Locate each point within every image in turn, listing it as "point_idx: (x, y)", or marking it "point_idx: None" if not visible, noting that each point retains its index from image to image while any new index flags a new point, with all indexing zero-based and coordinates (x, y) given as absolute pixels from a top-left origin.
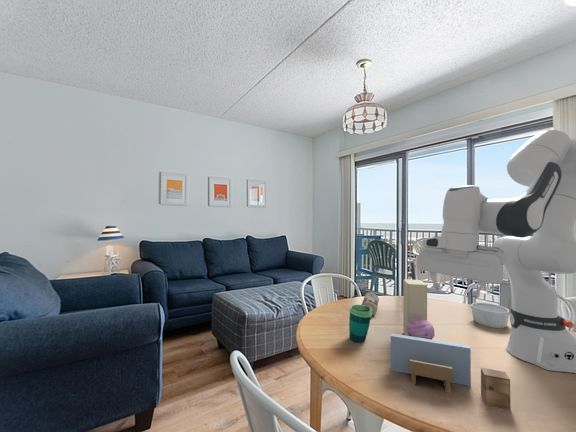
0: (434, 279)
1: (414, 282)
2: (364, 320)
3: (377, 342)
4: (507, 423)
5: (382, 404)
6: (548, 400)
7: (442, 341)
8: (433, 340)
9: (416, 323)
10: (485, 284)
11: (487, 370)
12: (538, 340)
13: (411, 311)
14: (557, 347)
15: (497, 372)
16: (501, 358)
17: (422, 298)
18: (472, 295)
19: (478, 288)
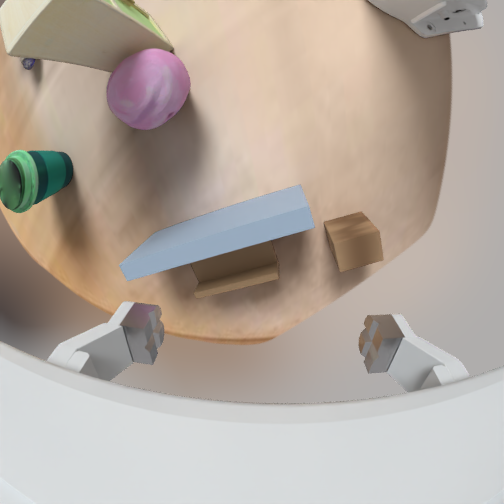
0: (115, 373)
1: (24, 6)
2: (40, 193)
3: (89, 147)
4: (356, 277)
5: (200, 337)
6: (421, 163)
7: (238, 228)
8: (215, 239)
9: (128, 110)
10: (460, 365)
11: (346, 249)
12: (435, 4)
13: (91, 58)
14: (454, 7)
15: (364, 244)
16: (346, 19)
17: (89, 18)
18: (362, 350)
19: (404, 385)
